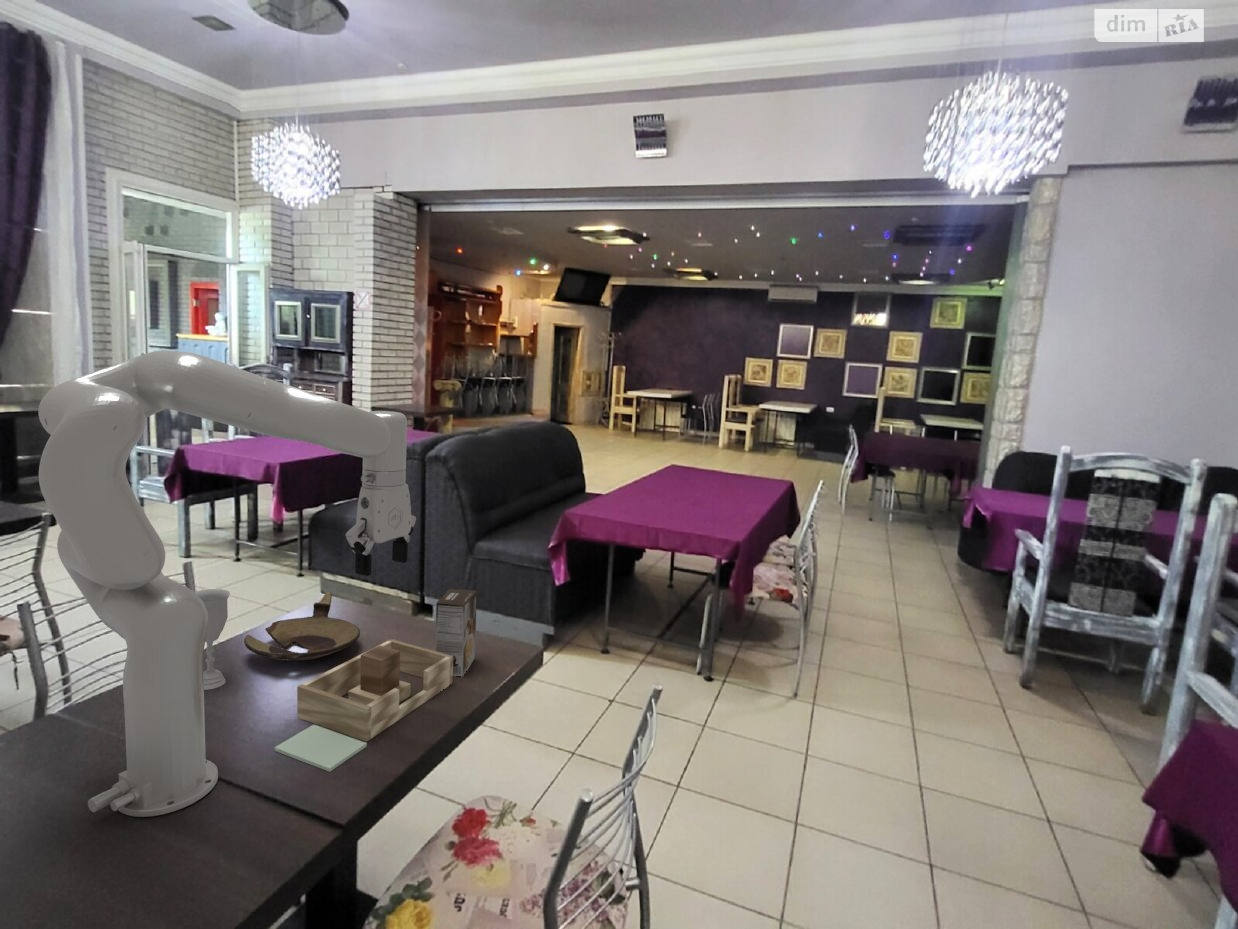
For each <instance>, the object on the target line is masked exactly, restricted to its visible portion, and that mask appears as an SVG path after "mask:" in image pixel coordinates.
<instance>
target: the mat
mask: <svg viewBox="0 0 1238 929" xmlns="http://www.w3.org/2000/svg"><path fill="white" fill-rule="evenodd" d="M367 747H368V743H367V742H366V741H363V740H360V739H357V738H354V737H351V736H348V735H346V734H343V733H340V732H337V731H334V730H331V729H329V728H326V727H323V726H320V725H317V724H312V725H310V726H309V727H307V728H305V729H304V730H302V731H300V732H298V733H297V734H295V735H293V736H291V737H290V738H288V739H286V740H285V741H283V742H281V743H280V744H278V745H276V746H274V748H273V749H274V751H275V752H277V753H280V754H282V755H285V756H287V757H290V758H293V759H295V760H298V761H299V762H303V763H304V764H308V765H311V766H313V767H316V768H318V769H322V770H324V771H326V772H332V771H333V770H335V769H336V768H337V767H339V766H340V765H342V764H344V763H345V762H346V761H348V760H349V759H351V758H352V757H353V756H355V755H357V754H358V753H359V752H361V751H362V750H364V749H366V748H367Z"/></svg>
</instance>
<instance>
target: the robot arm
mask: <svg viewBox="0 0 1238 929" xmlns="http://www.w3.org/2000/svg"><path fill="white" fill-rule="evenodd" d="M38 405H39V406H38V412H37V413H38V419H39V421H40V423H41V425H42V426H41V427H42V428H43V429H44V430H45V431H46V432H47V433H48V434H49V435H50V436H49V438H48V440H47V441H46V444H45V446H44V448H43V451H42V455H41V457H40V461H39V465H38V467H39V468H38V483H39V489H40V492H41V494H42V497H43V498H44V501H45V503H46V505H47V507H48V508H49V510H50V512H51V514H52V516H53V517H54V518H55V520H56V522H57V524H58V526H59V528H60V532H59V534H58V538H57V542H56V547H57V554H58V557H59V560H60V562H61V563H62V566H63V567H64V568H65V570H66V572H67V573H68V574H69V577H70V578H71V579H72V580H73V582H74V584H75V586H76V587H77V588H78V590H79V591H80V593H81V594H82V595H83V597H84V599H85V600H86V601H87V603H88V605H89V606H90V607H91V609H92V611H93V612H94V614H95V615H96V616H97V617H98V618H99V619H100V621H101V622H102V623H103V624H104V625H105V626H107V627H108V628H109V629H110V630H111V631H113V632H114V633H116V634H118V635H119V637H121V638H122V639H123V640H125V643H126V650H127V651H126V657H125V662H124V668H123V672H122V673H123V675H122V696H123V711H124V713H123V714H124V732H125V737H124V738H125V754H126V770H123V771H122V772H120V773H118V782H116V783H114V784H112V787H111V788H110V789H108V790H106V791H103V792H101V793H99V794H97V795H95V796H93V797H91V798H90V799H88V801H87V806H88V809H89V811H90V812H92V813H96V812H98V811H100V810H102V809H103V808H106V807H108V806H110V808H111V810H112V811H113V812H116V811H118V812H120V813H121V814H123V815H127V816H129V817H135V818H136V817H139V818H140V817H142V818H144V817H145V818H146V817H155V816H162V815H165V814H166V815H167V814H169V813H173V812H176V811H179V810H181V809H185V808H186V807H188V806H191V805H193V804H195V803H196V802H197V801H199V800H201V799H202V798H203V797H205V796H206V795H208V793H210V792H211V791H212V790H213V788H215V785H216V784H217V782H218V779H219V770H218V766H217V765H216V764H215V763H214V762H212V761H211V760H208V759H206V728H205V727H206V724H205V723H206V722H205V720H206V718H205V717H206V716H205V690H204V684H203V672H204V653H205V646H206V642H205V640H206V634H207V629H208V613H207V609H206V607H205V605H204V603H203V601H202V600H201V599H200V597H199V596H198V595H197V594H196V593H195V592H196V591H194V590H192V589H190V588H189V587H187V586H185V585H183V584H182V583H179V582H178V581H176V580H173V579H171V578H169V577H167V576H165V575H164V573H163V572H162V570H163V568H164V566H165V563H166V549H165V547H164V546H165V545H164V543H163V541H162V539H161V537H160V535H159V533H158V532H157V531H156V529H155V528H154V526H153V524H152V523H151V522H150V520H149V518H148V516H147V515H146V513H145V511H144V509H143V508H142V506H141V503H140V502H139V501H138V499H137V498H136V496H135V494H134V491H133V489H132V487H131V485H130V483H129V480H128V476H127V472H126V470H127V468H126V467H127V461H128V459H129V456H130V454H131V452H132V451H133V449H134V448H135V446H136V445H137V443H138V442H139V441H140V439H141V438H142V436H143V434H144V431H145V429H146V419H147V418H149V417H151V416H153V415H155V414H158V413H160V412H162V411H164V410H172V411H175V412H180V413H183V414H187V415H191V416H193V417H198V418H202V419H205V420H209V421H212V422H216V423H220V424H224V425H228V426H231V427H235V428H238V429H242V430H245V431H249V432H253V433H255V434H261V435H263V436H264V435H265V436H267V437H273V438H278V439H282V440H283V439H284V440H291V441H298V442H302V443H309V444H313V445H317V446H320V447H323V448H325V449H327V450H329V451H331V452H334V453H335V452H336V453H340V454H345V455H350V456H354V457H358V458H362V475H361V477H360V481H361V487H360V491H359V495H358V500H357V501H358V502H357V508H356V520H355V521H356V523H355V524H354V525H353V526H352V527H351V528H350V529H349V530H348V531H347V532H346V533H345V539H346V540H347V542H348V546H349V548H350V549H351V550H352V552H353V553H354V554H355V558H354V559H355V562H354V563H355V565H354V566H355V568H354V572H355V574H356V575H361V576H365V577H369V576H371V575H372V565H373V564H372V560H373V555H372V553H370V552H371V551H372V548H373V547H374V544H382V543H385V542H390V541H392V552H391V554H392V556H391V557H392V558H391V559H392V561H393V562H396V563H397V562H398V563H402V564H406V563H408V556H409V554H408V553H409V551H408V549H409V542H410V541H411V536H412V533H413V532H414V526H415V524H416V521H417V516H415V515H413V514H412V506H411V493H410V490H409V485H408V484H407V483H406V478H407V477H406V473H407V471H406V470H407V445H408V442H407V440H408V438H407V437H408V419H407V416H406V415H405V414H404V413H402V412H399V411H398V412H397V411H392V410H374V411H373V410H371V411H367V410H363V409H361V408H358V407H356V406H353V405H349V404H347V403H342V402H340V401H338V400H337V401H336V400H334V399H330V398H327V397H325V396H321V395H318V394H315V393H312V392H310V391H307V390H304V389H300V388H298V387H295V386H292V385H289V384H285V383H284V382H280V381H277V380H275V379H271V378H268V377H266V376H263V375H259V374H256V373H253V372H250V371H247V370H245V369H242V368H239V367H236V366H233V365H230V364H227V363H224V362H222V361H219V360H216V359H213V358H210V357H208V356H204V355H201V354H197V353H193V352H187V351H176V350H166V349H164V350H154V351H149V352H147V353H144V354H141V355H138V356H135V357H132V358H129V359H127V360H124V361H121V362H118V363H115V364H112V365H110V366H107V367H104V368H102V369H99V370H95V371H92V372H90V373H87V374H84V375H81V376H79V377H76V378H75V377H74V378H73V379H70V380H67V381H63V382H61V383H60V384H58V385H55V386H54V387H53V388H51V389H50V390H49V391H48V392H46V394H45V395H44V396H43V397H42V398H41V401H40V402H39V404H38ZM364 543H365V545H364Z"/></svg>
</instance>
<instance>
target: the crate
mask: <svg viewBox="0 0 1238 929" xmlns="http://www.w3.org/2000/svg"><path fill="white" fill-rule="evenodd" d="M379 645H380V646H384V647H387V648H391V649H395V650H398V651H400V673H401V672H402V673H405V674H407V675H412V676H415V677H419V678H422V679H423V684H422V690H421V691H420V692H419V691H418V692H417V693H416V694H415V695H413V696H412V697H410V696H411V695H412V694H411V692H412V690H411V689H412V688H411V687H412V684H411V682H410V683H409V682H406V681H403V680H400V682H399V686H397V687H395V688H394V689H392V690H390V691H389V692H387V693H386V694H384V695H382V696H379V695H376V694H372V693H369V692H366V691H363V690H360V678H361V655H362V654H364V653H366V652H368V651H370V650H372V649H374V648H376V647H377V646H379ZM379 645H377V646H375V647H373V648H371V649H369V650H367V651H365V652H363V653H361V654H359V655H357V656H355V657H353V658H351V659H348V660H347V661H345V662H343V663H341V664H339V665H337V666H334V667H333V668H331V669H329V670H327V671H325V672H323V673H322V674H321V673H320V674H319V675H317V676H315V677H313V678H311V679H309V680H308V681H305V682H303V683H301V684H299V685H297V687H296V689H297V690H296V691H297V692H296V693H297V694H296V696H297V699H296V700H297V702H296V704H297V709H296V710H297V713H296V714H297V718H298V719H300V720H303V721H307V722H309V723H312V724H313V725H317V726H320V727H322V728H325V729H328V730H331V731H334V732H337V733H340V734H342V735H345V736H348V737H351V738H354V739H357V740H359V741H362V742H365V743H367V742H369V741H370V740H371V739H373V738H374V737H376V736H378V735H379V734H380V733H382V732H383V731H385V730H386V729H388V728H389V727H391V726H392V725H394V724H395V723H396V722H398V721H400V720H401V719H402V718H404V717H406V716H407V715H408V714H410V713H412V712H413V711H414V710H416V709H417V708H419V707H420V706H421V705H423V704H424V703H426V702H427V701H429V700H431V699H433V697H435V696H436V695H438V694H440V693H441V692H443V691H444V690H445V689H447V688H448V687H450V686H451V685H453V682H454V681H453V677H454V676H453V656H451V655H448V654H444V653H440V652H437V651H435V650H432V649H430V648H425V647H422V646H419V645H414V644H410V643H408V642H407V643H406V642H403V641H400V640H396V639H390V638H389V639H388V640H386V641H384V642H383V643H380V644H379ZM450 684H451V685H450ZM449 685H450V686H449ZM443 689H444V690H443ZM440 691H441V692H440ZM346 694H347V696H348V697H343V696H345V695H346ZM409 697H410V698H409ZM408 698H409V699H408ZM406 699H407V700H406ZM404 700H405V701H404ZM403 701H404V702H403ZM400 703H401V704H400Z"/></svg>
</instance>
